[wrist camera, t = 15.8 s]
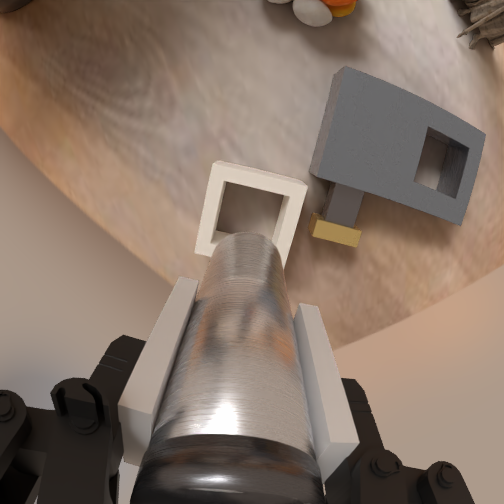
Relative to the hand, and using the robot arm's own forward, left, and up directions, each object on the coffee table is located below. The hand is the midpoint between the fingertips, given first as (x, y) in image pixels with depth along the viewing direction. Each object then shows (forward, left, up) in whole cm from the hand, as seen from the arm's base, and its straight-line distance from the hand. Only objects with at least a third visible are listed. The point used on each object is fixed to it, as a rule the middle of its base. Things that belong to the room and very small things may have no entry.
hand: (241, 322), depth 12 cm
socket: (+12, +10, -19) cm, 25 cm away
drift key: (+8, +7, -19) cm, 21 cm away
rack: (0, 0, -19) cm, 19 cm away
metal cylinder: (0, 0, -6) cm, 6 cm away
